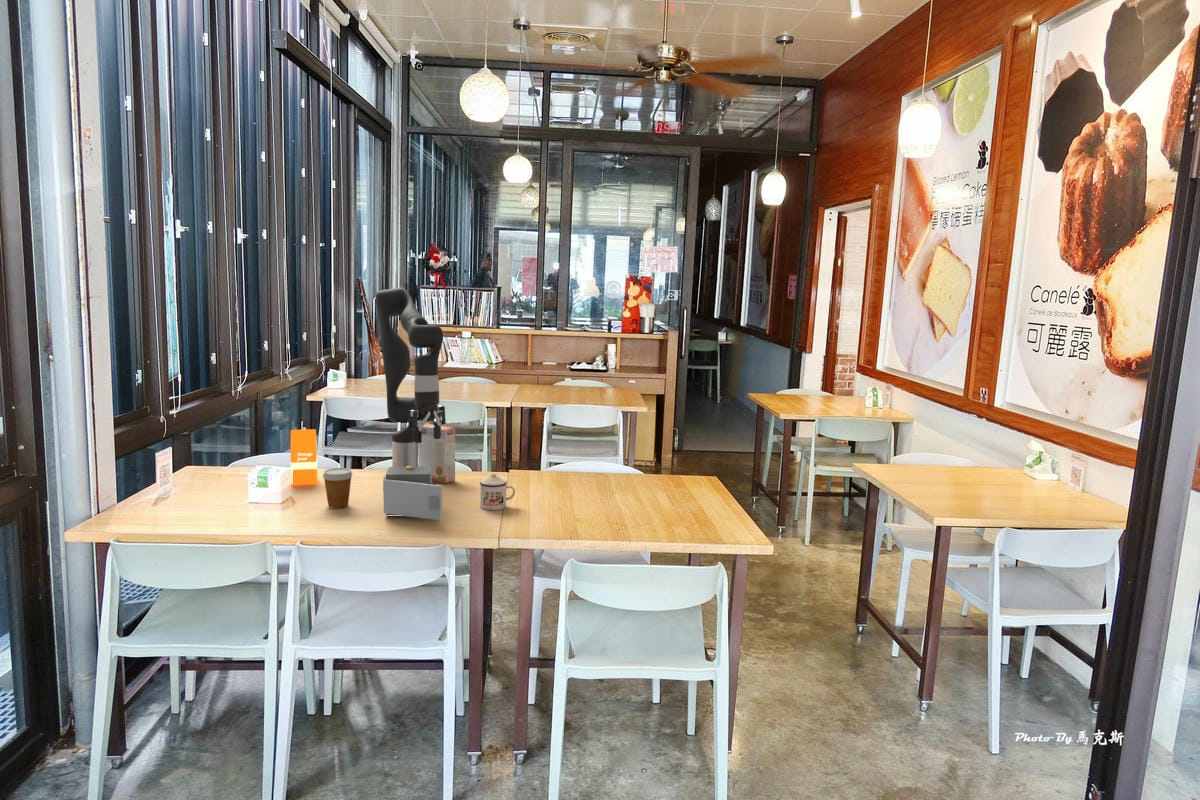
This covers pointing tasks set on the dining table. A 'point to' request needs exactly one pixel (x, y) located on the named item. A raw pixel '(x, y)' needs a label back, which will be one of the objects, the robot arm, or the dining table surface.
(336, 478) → the disposable coffee cup
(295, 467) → the orange juice
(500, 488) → the teacup with lid
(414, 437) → the robot arm
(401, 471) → the grey small cabinet
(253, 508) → the dining table surface
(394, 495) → the side door
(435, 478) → the cracker box
